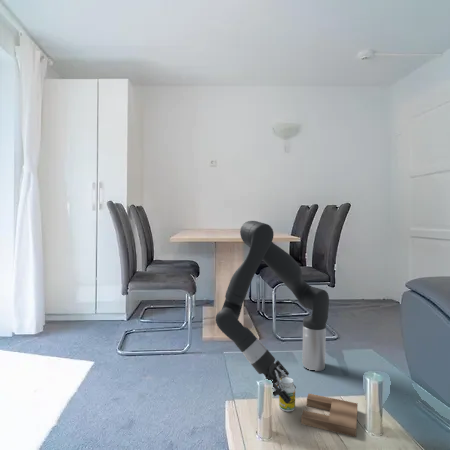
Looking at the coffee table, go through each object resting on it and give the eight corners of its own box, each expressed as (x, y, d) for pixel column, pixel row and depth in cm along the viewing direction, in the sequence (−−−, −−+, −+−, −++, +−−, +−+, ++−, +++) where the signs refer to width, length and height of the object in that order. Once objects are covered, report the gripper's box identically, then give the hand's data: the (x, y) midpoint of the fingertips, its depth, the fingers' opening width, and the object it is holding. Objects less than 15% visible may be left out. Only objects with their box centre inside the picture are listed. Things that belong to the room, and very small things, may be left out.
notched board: (308, 400, 124) (308, 393, 124) (357, 410, 118) (357, 403, 118) (301, 423, 111) (301, 416, 111) (355, 436, 105) (356, 428, 105)
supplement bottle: (287, 401, 124) (287, 374, 123) (298, 408, 119) (299, 381, 118) (275, 406, 121) (276, 378, 120) (286, 414, 116) (287, 385, 115)
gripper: (260, 358, 115) (295, 401, 111) (271, 341, 128) (303, 379, 124) (244, 371, 117) (278, 413, 114) (257, 353, 130) (288, 390, 127)
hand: (291, 395), depth 119 cm, fingers open, 7 cm apart
